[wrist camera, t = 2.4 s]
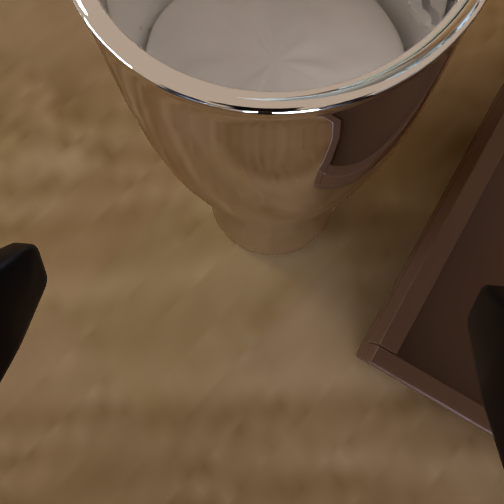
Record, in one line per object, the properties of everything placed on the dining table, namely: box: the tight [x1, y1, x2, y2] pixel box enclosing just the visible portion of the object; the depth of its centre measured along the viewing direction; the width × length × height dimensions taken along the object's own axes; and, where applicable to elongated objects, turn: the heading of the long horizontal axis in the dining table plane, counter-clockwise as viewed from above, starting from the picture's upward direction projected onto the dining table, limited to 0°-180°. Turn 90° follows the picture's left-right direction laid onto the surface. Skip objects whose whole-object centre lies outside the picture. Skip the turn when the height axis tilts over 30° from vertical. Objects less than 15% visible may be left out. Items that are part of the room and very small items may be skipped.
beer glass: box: [72, 0, 487, 256], centre depth 13 cm, size 7×7×15 cm
